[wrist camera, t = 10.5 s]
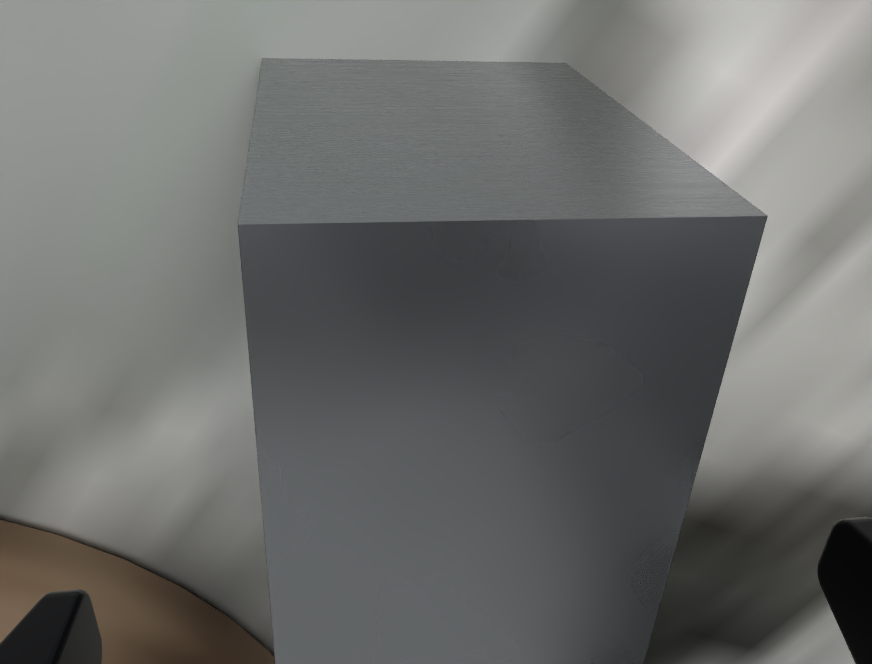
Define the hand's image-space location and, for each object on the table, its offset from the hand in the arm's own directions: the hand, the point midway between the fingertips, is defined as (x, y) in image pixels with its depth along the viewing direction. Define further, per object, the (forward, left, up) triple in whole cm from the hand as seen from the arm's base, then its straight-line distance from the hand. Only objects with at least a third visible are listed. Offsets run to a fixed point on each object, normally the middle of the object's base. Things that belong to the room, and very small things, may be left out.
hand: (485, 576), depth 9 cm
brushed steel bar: (0, 0, -5) cm, 5 cm away
